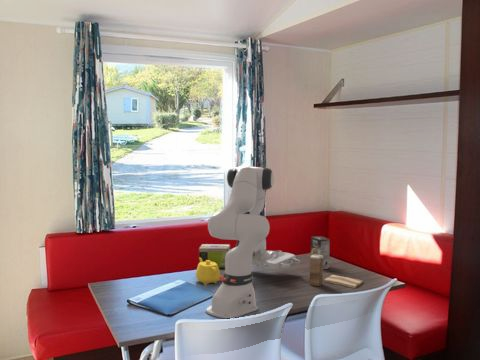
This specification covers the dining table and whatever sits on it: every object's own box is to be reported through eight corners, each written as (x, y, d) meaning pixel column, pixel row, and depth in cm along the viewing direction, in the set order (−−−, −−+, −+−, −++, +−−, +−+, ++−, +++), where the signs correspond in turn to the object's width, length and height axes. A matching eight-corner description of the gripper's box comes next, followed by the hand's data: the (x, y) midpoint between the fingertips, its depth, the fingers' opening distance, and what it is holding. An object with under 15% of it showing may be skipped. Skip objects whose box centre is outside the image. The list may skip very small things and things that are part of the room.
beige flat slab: (354, 287, 222) (354, 285, 222) (323, 281, 232) (323, 279, 232) (362, 282, 230) (362, 280, 230) (332, 276, 240) (332, 274, 240)
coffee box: (310, 265, 260) (310, 236, 258) (319, 264, 262) (320, 235, 261) (319, 269, 251) (320, 240, 250) (329, 268, 254) (330, 238, 253)
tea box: (230, 271, 249) (230, 243, 247) (228, 277, 239) (228, 248, 237) (202, 270, 250) (202, 243, 249) (198, 276, 240) (198, 247, 239)
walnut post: (318, 286, 224) (318, 257, 223) (309, 284, 227) (310, 256, 225) (322, 284, 228) (323, 255, 226) (314, 282, 231) (314, 254, 229)
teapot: (189, 278, 237) (189, 257, 236) (209, 275, 242) (209, 254, 241) (205, 288, 221) (205, 266, 220) (226, 285, 227) (226, 263, 226)
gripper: (259, 258, 233) (283, 262, 225) (280, 249, 249) (304, 253, 241) (259, 270, 233) (283, 275, 225) (280, 261, 250) (304, 265, 242)
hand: (294, 264), depth 233 cm, fingers open, 8 cm apart
